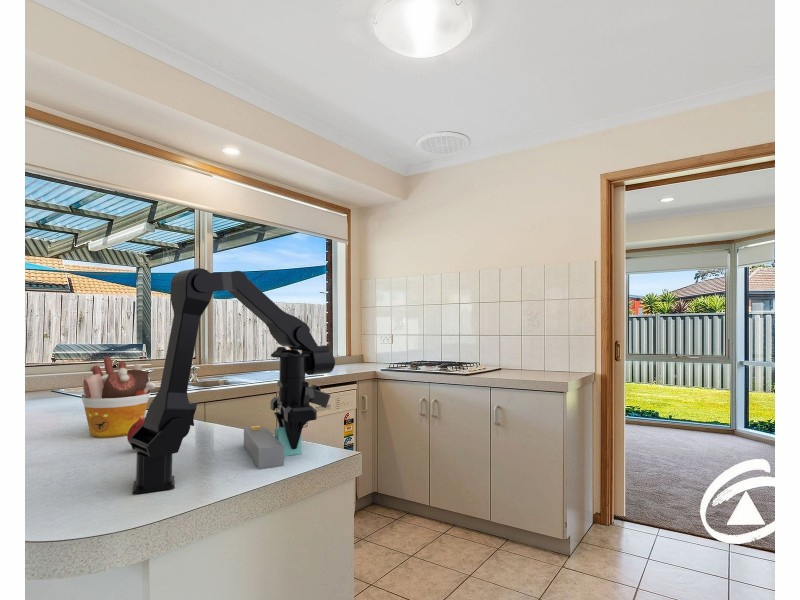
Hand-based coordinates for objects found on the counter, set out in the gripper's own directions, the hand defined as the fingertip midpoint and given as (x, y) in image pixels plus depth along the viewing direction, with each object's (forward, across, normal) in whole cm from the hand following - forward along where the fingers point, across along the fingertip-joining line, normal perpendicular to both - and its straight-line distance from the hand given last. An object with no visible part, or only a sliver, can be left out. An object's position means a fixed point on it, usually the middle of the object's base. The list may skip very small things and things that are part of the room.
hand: (291, 446), depth 106 cm
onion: (+2, +17, +30) cm, 35 cm away
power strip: (+1, +3, +6) cm, 7 cm away
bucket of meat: (+2, +41, +37) cm, 55 cm away
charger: (+1, 0, +2) cm, 2 cm away
